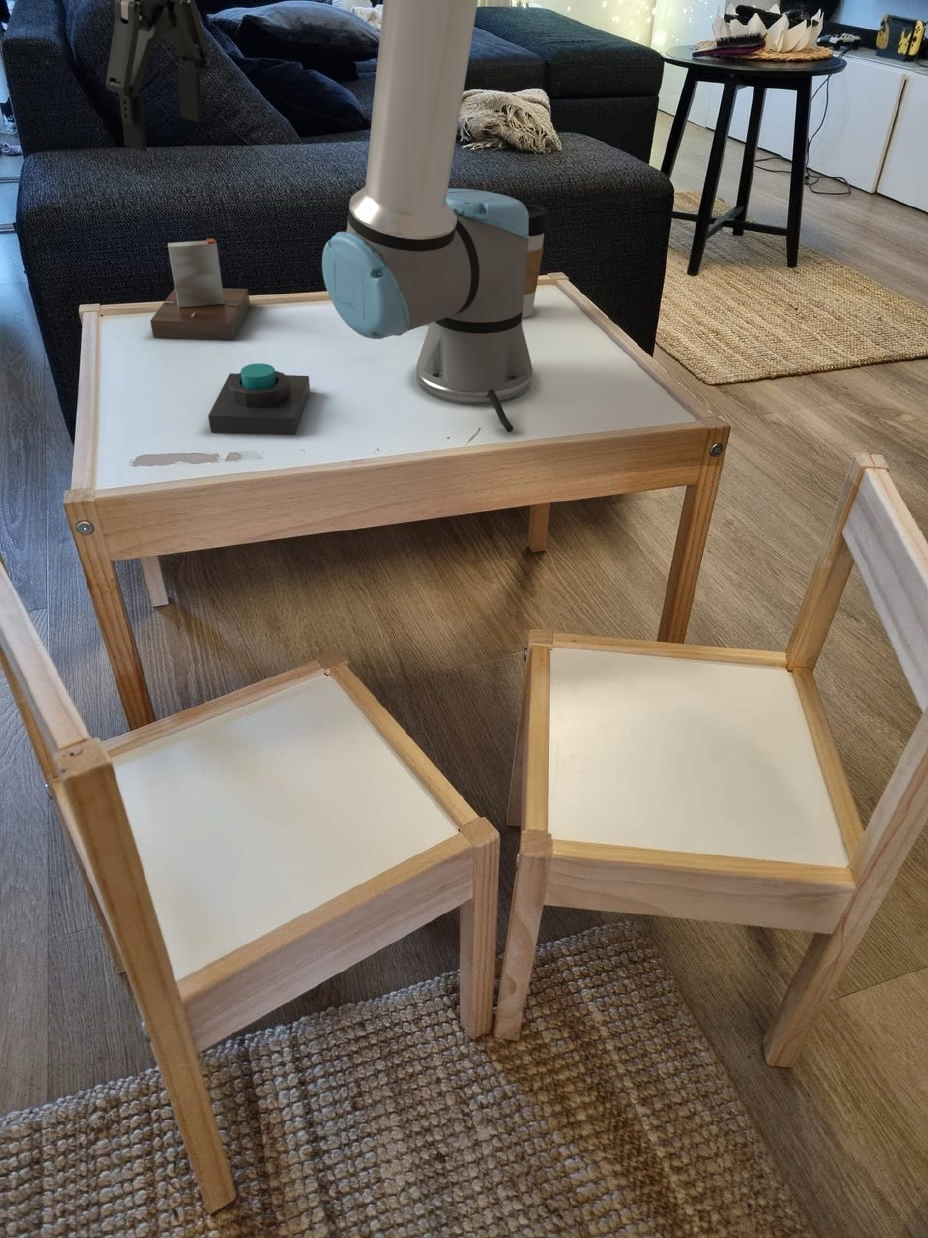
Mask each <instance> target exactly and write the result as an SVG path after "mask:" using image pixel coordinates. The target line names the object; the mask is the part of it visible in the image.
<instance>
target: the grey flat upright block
mask: <svg viewBox="0 0 928 1238" xmlns="http://www.w3.org/2000/svg"><path fill="white" fill-rule="evenodd" d="M167 248H168V254H169V261H170V266H171V273H172V277H173V285H174V289H175V291H176V297H177V303H178V306H179V308H182V307H193V306H205V305H216V304H224V296H223V282H222V275H221V266H220V259H219V251H218V244H217V241H216V240H215V239H214V238H206V240H194V241H193V240H192V241H181V242H179V241H178V242H168V243H167Z"/></svg>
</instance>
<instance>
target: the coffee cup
mask: <svg viewBox="0 0 928 1238" xmlns="http://www.w3.org/2000/svg"><path fill="white" fill-rule="evenodd" d="M524 206H525V207H526V209H527V211H528V215H529V223H528V235H529V237H530V238H529V241H528V251H527V264H526V277H525V290H524V303H523V315H522V319H525V318H528V317H531V316H532V314H533V311H534V306H535V298H536V292H537V287H538V283H539V282H538V281H539V276H540V271H541V264H542V259H543V253H544V248H545V247H544V246H545V244H544V237H545V234H547V232H548V227H549V223H548V209H546V208H545V207H544V206H541V205H535V204H524Z"/></svg>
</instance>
